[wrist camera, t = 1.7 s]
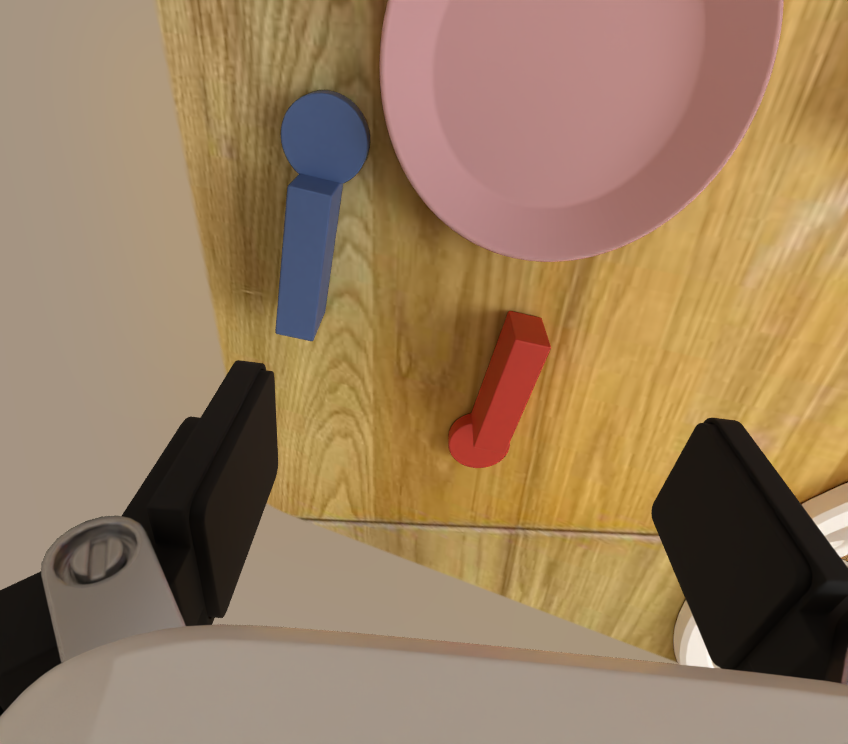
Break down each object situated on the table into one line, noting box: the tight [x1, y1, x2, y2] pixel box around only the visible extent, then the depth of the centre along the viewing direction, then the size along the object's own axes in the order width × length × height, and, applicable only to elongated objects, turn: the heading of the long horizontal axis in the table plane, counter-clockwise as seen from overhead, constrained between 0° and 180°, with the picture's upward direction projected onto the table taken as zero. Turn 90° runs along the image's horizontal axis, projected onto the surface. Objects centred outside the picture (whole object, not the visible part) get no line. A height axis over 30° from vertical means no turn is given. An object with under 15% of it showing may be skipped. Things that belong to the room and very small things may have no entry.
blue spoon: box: [276, 90, 370, 341], centre depth 23 cm, size 10×4×3 cm, turn 167°
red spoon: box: [449, 311, 551, 468], centre depth 28 cm, size 10×4×3 cm, turn 167°
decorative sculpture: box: [673, 483, 848, 669], centre depth 38 cm, size 15×29×2 cm, turn 169°
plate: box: [380, 0, 783, 262], centre depth 20 cm, size 14×14×2 cm
